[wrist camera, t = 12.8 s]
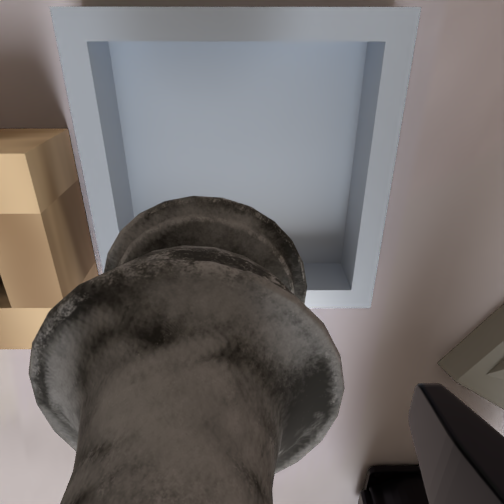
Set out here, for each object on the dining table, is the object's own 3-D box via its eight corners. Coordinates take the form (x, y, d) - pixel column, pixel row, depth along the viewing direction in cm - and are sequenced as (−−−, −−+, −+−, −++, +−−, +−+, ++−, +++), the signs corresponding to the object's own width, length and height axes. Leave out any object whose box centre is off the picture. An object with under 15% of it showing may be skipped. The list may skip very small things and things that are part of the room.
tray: (393, 9, 16) (421, 7, 14) (356, 273, 22) (370, 308, 19) (82, 9, 16) (49, 6, 13) (126, 274, 22) (110, 308, 19)
